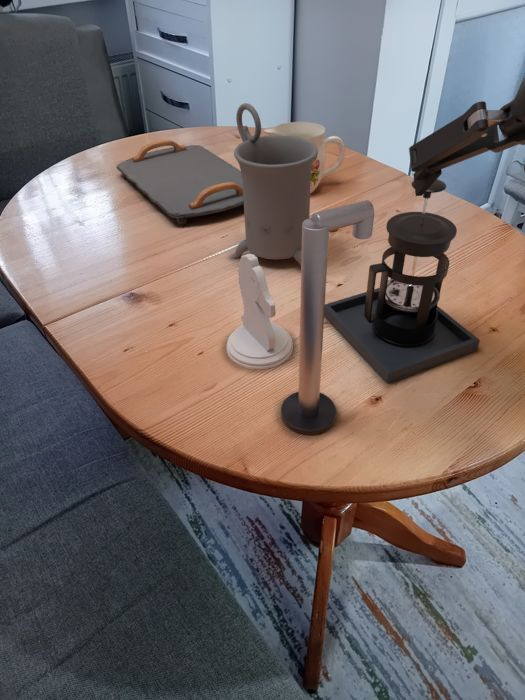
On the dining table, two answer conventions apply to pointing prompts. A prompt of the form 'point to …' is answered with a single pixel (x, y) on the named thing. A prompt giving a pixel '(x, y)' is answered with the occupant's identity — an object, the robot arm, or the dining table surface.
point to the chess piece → (257, 323)
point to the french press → (411, 291)
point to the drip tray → (394, 359)
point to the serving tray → (185, 180)
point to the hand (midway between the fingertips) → (472, 181)
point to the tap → (318, 315)
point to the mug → (273, 190)
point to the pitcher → (316, 136)
